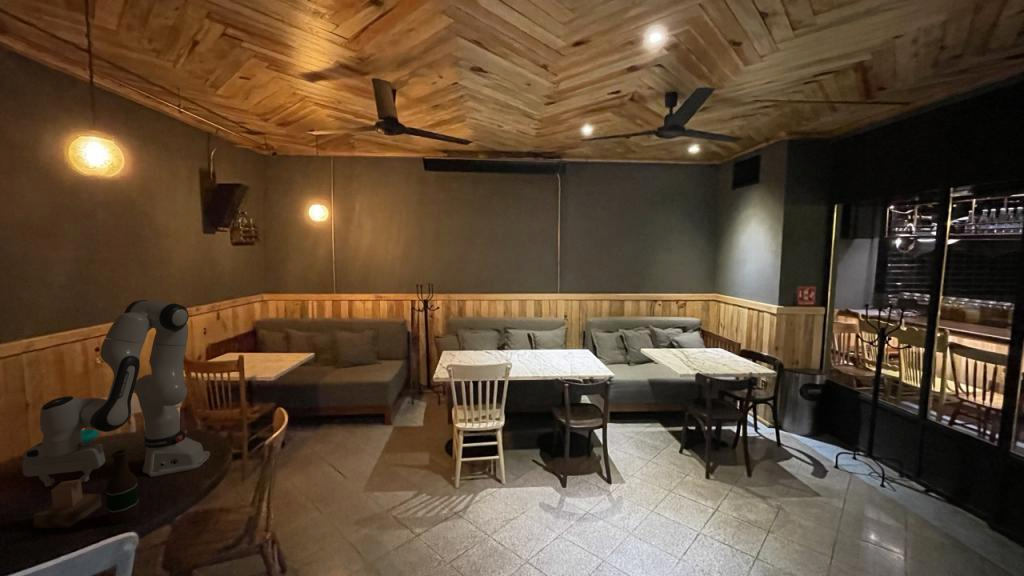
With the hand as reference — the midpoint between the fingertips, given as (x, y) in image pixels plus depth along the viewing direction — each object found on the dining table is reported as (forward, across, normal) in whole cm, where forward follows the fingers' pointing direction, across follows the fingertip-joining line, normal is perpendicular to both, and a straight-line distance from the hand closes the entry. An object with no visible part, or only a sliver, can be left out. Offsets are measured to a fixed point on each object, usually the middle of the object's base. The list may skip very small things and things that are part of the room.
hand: (67, 483), depth 136 cm
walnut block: (+12, 0, +1) cm, 13 cm away
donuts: (+13, +24, -47) cm, 55 cm away
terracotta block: (+7, 0, 0) cm, 7 cm away
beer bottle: (+12, -18, +6) cm, 22 cm away
